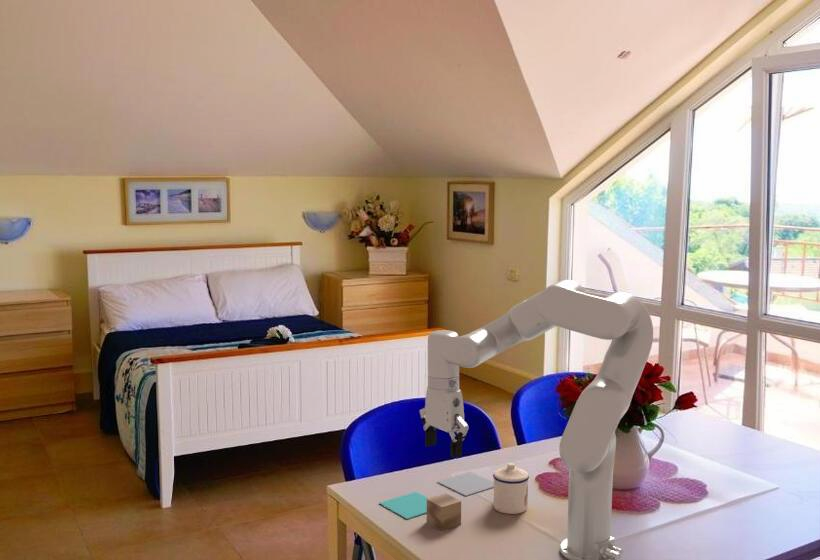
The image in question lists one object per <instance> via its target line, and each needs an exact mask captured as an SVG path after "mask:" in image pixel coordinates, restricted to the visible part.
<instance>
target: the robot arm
mask: <svg viewBox="0 0 820 560" xmlns="http://www.w3.org/2000/svg"><path fill="white" fill-rule="evenodd" d="M556 327H559V328H562V329H565V330H568V331H572V332H576V333H577V334H578V333H579V334H582V335H585V336H589V337H593V338H596V339H600V340H606V341H611V342H610V344H609V346H608V349H607V350H606V352H605V355H604V357H603V360H602V363H601V365H600V367H599V370H598V372H597V374H596V376H595V377H594V379H593V380H591V382H590V383H589V384H588V385H587V386H586V387H585V388H584V389H583V391H581V393H580V394H579V397H578V399H577V400H576V402H575V405H574V407H573V409H572V411H571V414H570V417H569V419H568V421H567V424H566V426H565V429H564V431H563V434H562V435H561V439H560V441H559V446H558V447H559V448H558V451H559V457H560V459H561V461H562V463H563V464H564V466H565V467H566V468H567V469H569V472H568V475H569V476H568V496H567V497H568V499H567V500H568V502H567V504H568V505H567V534H566V535H567V538H565V539H564V540H562V542H560V545H559V551H560V553H561V555H562V556H563V557H564V558H565V559H567V560H621V556H622V554H624V553H623V552H624V550H623V549H622V548H621V547H617V546H615V537H613V536H611V535H612V533H611V532H612V505H613V504H612V502H613V501H612V500H613V483H614V482H613V479H614V477H613V476H614V464H615V456H616V449H617V448H616V447H617V437H616V430H617V428H618V425H619V424H620V421H621V419H622V418H623V417H624V416H625V414H626V413H627V411H628V410H629V407H630V405H631V402H632V399H633V395H634V393H635V392H636V388H637V386H638V384H639V382H640V379H641V377H642V373H643V371H644V369H645V366H646V364H647V361H648V359H649V356H650V354H651V353H650V352H651V350H652V346H653V341H654V326H653V320H652V318H651V315H650V313H649V311H648V309H647V307H646V306H645V305H644V303H643V302H642V301H641V300H639V299H638V297H636V296H635V295H633V294H631V293H628V292H624V291H623V292H620V291H619V292H614V293H611V294H608V295H607V296H605V297H600V296H596V295H592V294H587V293H586V292H585V289H584V287H583V286H582V285H581V284H580V283H578V282H577V281H575V280H571V279H564V280H563V279H562V280H559V281H558V282H555V283H553V284H550V285H549V286H547V287H546V288H544V289H542V290H541V291H539V292H537V293H536V294H535V293H534V295H531V296H529V298H527V299H525V300H523V301H521V302H518V303H517V304H515V305H513V306H512V307H510V309H509V310H508V311H507V312H506V313H505V314H503V315H502V316H500V317H498V318H496V319H494V320H493V321H490V322H489V323H487V324H485V325H483V326H482V327H480V328H477V329H475V330H473V331H471V332H469V333H467V334H463V335H461V336H459V334H458V333H457V332H456V331H454V330H449V329H448V330H447V329H441V330H440V329H438V330H433V331H431V332H430V333H429V334H428V336H427V386H426V391H425V392H426V393H425V399H424V401H425V402H424V403H425V404H424V407H423V408H421V409H419V414H420V419H421V423H422V425H423V426H422V427H423V428H422V429H423V430H424V445H425V446H424V447H427V448H429V447H434V446H437V444H438V442H437V440H438V439H437V438H438V437H437V436H438V434H437V433H438V432H437V431H438V430H441V431H444V432H446V433H448V434H449V436H450V438H451V441H450V444H449V445H450V446H449V448H450V449H449V450H450V455H449V457H450V458H452V459H455V458H458V457H462V456H463V441H464V440H465V438H466V437H467V435H468V434H467V433H468V431H469V428H470V427H469V425H468V423H467V422H466V421H465V412H464V410H465V407H464V406H465V405H464V399H463V393H462V389H460V367H461V368H467V369H471V368H472V369H473V368H476V367H478V366H480V365H481V364H483V363H484V362H486V361H488V360H490V359H491V358H493V357H494V356H497V355H498V354H500V353H502V352H504V351H506V350H509V348H511V347H513V346H515V345H517V344H520V343H523V342H529V341H531V340H533V339H536V338H537V337H539V336H541V335H542V334H545V333H547V332H548V331H551V330H552V329H555V328H556ZM437 429H438V430H437ZM455 433H456V434H455Z"/></svg>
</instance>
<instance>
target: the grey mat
mask: <svg viewBox="0 0 820 560" xmlns="http://www.w3.org/2000/svg"><path fill="white" fill-rule="evenodd" d="M439 483H440V484H439ZM437 484H439V485H441V484H442V486H443V485H444V486H443V487H445V486H446V487H445V488H447V489H449V488H450V490H452V491H454V492H456V493H458V494H460V495H462V496H465V497H469V496H471V495H472V496H473V495H475V494H478V493H481V492H484V491H488V490H490V488H491V489H494V488H493V487H494V481H491V480H490V479H487V478H485V477H483V476H480V475H478V474H476V473H473V472H471V471H469V472H465V473H462V474H459V475H455V476H451V477H449V478H445V479H441V480H438V481H437ZM487 489H488V490H487Z"/></svg>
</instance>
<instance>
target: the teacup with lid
mask: <svg viewBox="0 0 820 560" xmlns="http://www.w3.org/2000/svg"><path fill="white" fill-rule="evenodd" d="M492 477H493V482H494V488H493V508H494V509H495V510H496V511H498V512H500V513H502V514H506V515H517V514H522V513H524V512H526V511H527V510H528V502H529V500H528V498H529V497H528V495H529V493H528V492H529V479H530V476H529V473H528V472H527V470H525V469H522V468H519V467H517V466H516V465H515V463H514V462H508V463H507V464H506V466H504V467H499V468H497V469H496V470H495V471H494V472H493V474H492Z"/></svg>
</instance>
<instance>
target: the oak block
mask: <svg viewBox="0 0 820 560" xmlns="http://www.w3.org/2000/svg"><path fill="white" fill-rule="evenodd" d="M428 498H429V499H427V513H426V523H428V524H429V525H430V526H433V527H435V528H436V529H438V530H439V531H442V532H443V531H445V530H448V529H451V528H454V527H457V526H461V525H462V500H460V499H458V498H456V497H454V496H452V495H450V494H447V493H442V494H439V495H435V496H433V497H428Z"/></svg>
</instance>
